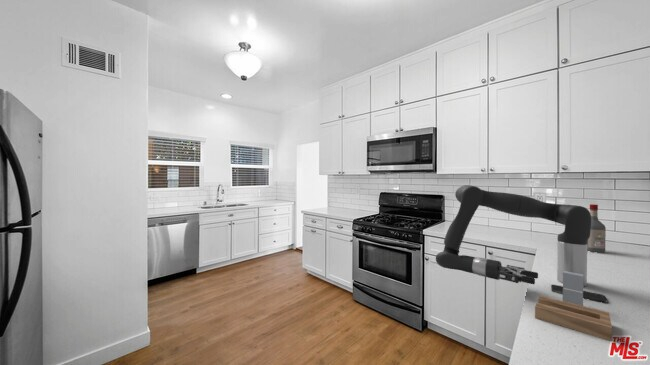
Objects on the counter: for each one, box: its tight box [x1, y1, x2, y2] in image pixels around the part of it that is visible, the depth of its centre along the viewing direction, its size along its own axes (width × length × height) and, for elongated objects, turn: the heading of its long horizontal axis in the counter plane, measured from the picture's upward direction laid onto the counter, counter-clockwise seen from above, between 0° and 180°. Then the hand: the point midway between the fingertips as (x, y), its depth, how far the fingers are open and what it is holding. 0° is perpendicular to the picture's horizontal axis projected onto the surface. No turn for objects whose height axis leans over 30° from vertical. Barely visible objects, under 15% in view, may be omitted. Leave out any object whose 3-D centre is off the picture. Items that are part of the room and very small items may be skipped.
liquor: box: [587, 203, 607, 254], centre depth 164 cm, size 9×9×30 cm
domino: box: [562, 271, 584, 306], centre depth 89 cm, size 2×5×11 cm, turn 45°
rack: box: [534, 294, 613, 342], centre depth 78 cm, size 12×16×4 cm
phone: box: [550, 284, 609, 304], centre depth 98 cm, size 8×1×15 cm
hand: (536, 278), depth 96 cm, fingers open, 8 cm apart
